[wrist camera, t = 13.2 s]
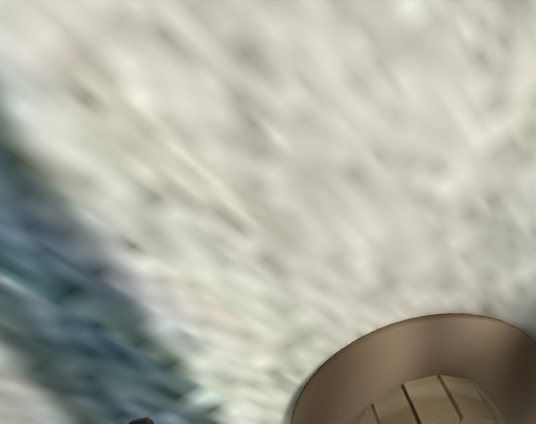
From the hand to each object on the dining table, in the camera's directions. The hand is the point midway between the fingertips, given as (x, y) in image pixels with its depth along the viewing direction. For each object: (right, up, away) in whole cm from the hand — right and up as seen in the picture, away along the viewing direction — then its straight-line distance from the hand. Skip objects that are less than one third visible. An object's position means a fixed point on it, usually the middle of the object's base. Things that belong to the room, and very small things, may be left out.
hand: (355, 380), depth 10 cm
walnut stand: (+8, -10, +19) cm, 23 cm away
